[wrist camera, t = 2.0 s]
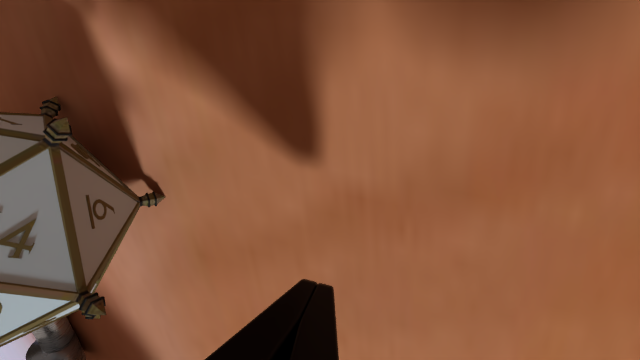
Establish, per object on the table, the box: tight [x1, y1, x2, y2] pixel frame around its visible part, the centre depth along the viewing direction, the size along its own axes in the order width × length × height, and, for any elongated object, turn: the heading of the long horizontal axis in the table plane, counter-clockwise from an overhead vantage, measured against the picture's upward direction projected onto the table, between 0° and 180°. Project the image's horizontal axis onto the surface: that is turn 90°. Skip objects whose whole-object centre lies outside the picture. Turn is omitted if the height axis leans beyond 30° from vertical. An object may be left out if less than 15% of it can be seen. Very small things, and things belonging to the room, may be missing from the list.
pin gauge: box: [26, 316, 86, 360], centre depth 19 cm, size 8×2×2 cm, turn 177°
